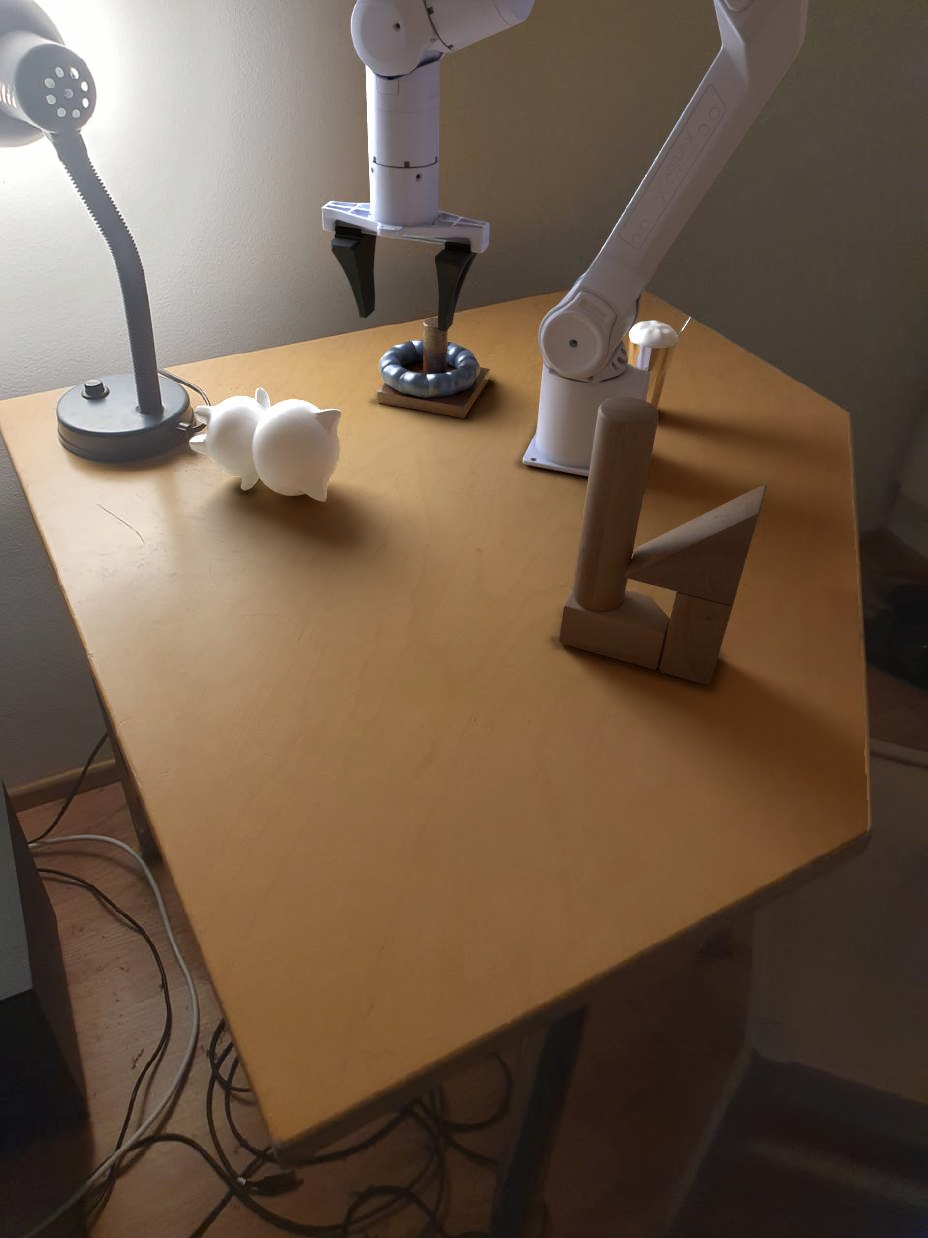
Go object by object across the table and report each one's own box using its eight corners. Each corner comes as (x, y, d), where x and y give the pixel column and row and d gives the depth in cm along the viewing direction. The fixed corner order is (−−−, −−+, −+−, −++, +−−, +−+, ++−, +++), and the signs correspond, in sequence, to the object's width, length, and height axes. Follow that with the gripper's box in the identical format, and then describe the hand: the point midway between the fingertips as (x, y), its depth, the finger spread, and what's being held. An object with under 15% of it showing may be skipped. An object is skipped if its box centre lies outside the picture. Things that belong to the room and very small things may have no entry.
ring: (489, 365, 95) (491, 344, 94) (461, 408, 88) (462, 387, 86) (399, 350, 97) (399, 330, 96) (365, 391, 90) (364, 370, 88)
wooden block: (708, 688, 62) (777, 456, 50) (556, 645, 64) (588, 415, 53) (717, 654, 64) (785, 425, 53) (571, 614, 67) (604, 388, 55)
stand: (489, 379, 95) (493, 312, 91) (463, 418, 89) (466, 348, 84) (408, 365, 97) (408, 298, 92) (377, 402, 91) (375, 333, 86)
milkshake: (674, 425, 89) (694, 326, 83) (619, 423, 89) (635, 324, 83) (667, 403, 93) (686, 306, 86) (614, 401, 93) (629, 304, 86)
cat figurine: (191, 371, 74) (322, 396, 70) (260, 390, 84) (377, 413, 80) (175, 478, 75) (303, 508, 72) (244, 484, 85) (359, 511, 82)
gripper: (301, 160, 73) (314, 324, 82) (474, 182, 70) (468, 350, 79) (337, 139, 78) (346, 296, 87) (500, 159, 75) (491, 319, 84)
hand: (405, 320), depth 83 cm, fingers open, 7 cm apart
